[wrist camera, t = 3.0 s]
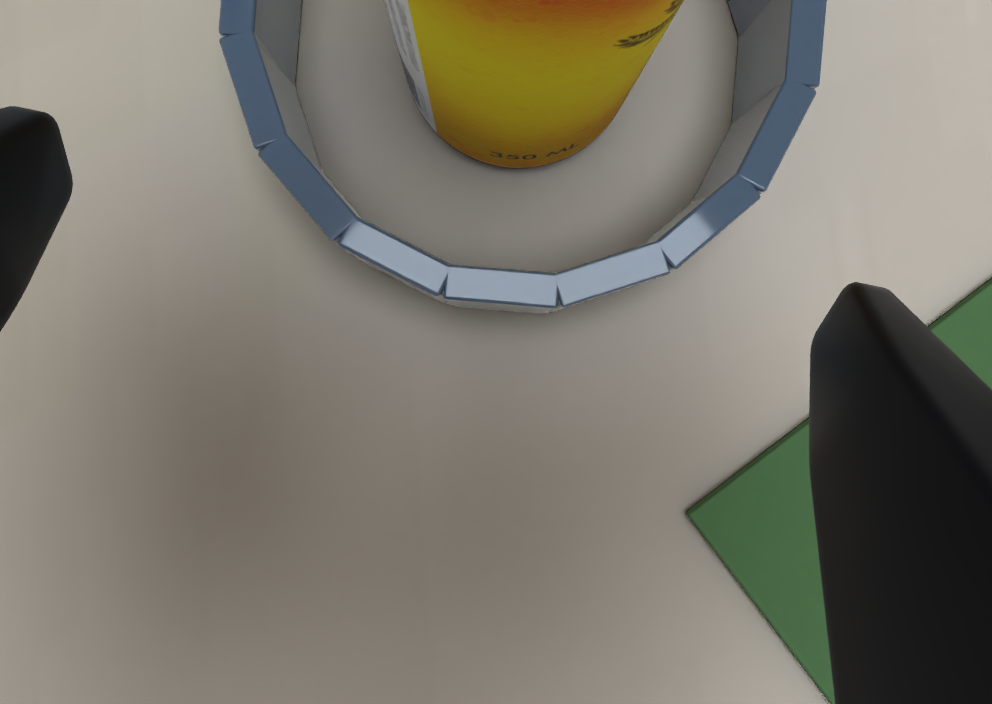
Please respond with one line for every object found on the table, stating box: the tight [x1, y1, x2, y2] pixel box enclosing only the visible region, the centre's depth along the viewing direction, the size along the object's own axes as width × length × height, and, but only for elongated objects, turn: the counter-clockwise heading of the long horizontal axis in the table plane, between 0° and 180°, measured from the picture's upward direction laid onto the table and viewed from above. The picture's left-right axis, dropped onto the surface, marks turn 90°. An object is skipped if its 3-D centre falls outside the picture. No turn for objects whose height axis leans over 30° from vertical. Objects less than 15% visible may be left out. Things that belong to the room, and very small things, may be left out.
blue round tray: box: [219, 0, 827, 314], centre depth 20 cm, size 14×14×4 cm
